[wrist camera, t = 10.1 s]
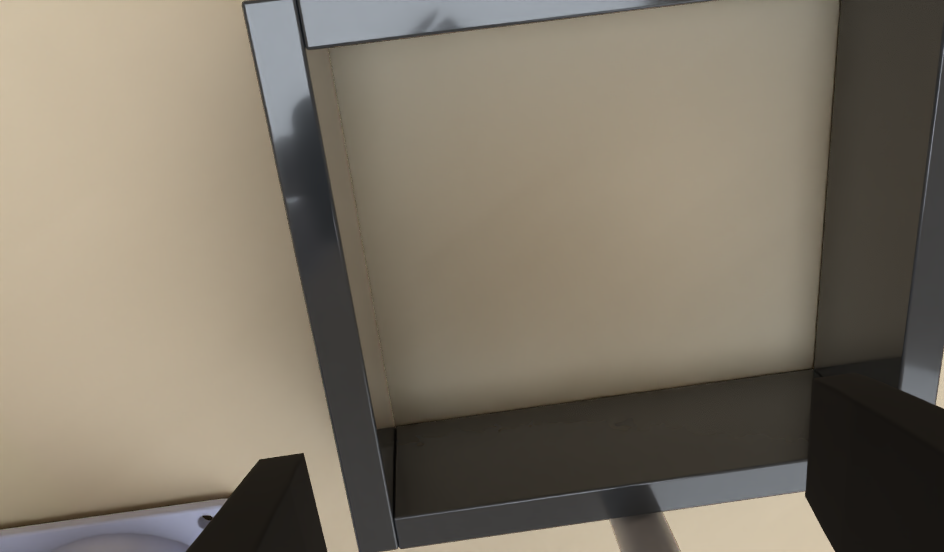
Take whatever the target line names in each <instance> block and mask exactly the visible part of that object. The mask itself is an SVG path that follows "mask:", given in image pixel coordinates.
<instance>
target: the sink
mask: <svg viewBox="0 0 944 552" xmlns="http://www.w3.org/2000/svg"><path fill="white" fill-rule="evenodd" d="M709 1H717V0H245V1H243V2H242V10H243V14H244V19H245V24H246V28H247V33H248V38H249V42H250V47H251V52H252V56H253V61H254V66H255V70H256V75H257V80H258V84H259V89H260V94H261V98H262V103H263V108H264V112H265V117H266V122H267V126H268V131H269V136H270V140H271V145H272V150H273V154H274V159H275V164H276V168H277V173H278V178H279V182H280V187H281V192H282V196H283V201H284V206H285V210H286V215H287V220H288V224H289V229H290V234H291V238H292V243H293V248H294V252H295V257H296V262H297V266H298V271H299V276H300V280H301V285H302V290H303V294H304V299H305V304H306V308H307V313H308V318H309V322H310V327H311V332H312V336H313V341H314V346H315V350H316V355H317V360H318V364H319V369H320V373H321V378H322V383H323V387H324V392H325V397H326V401H327V406H328V411H329V415H330V420H331V425H332V429H333V434H334V439H335V443H336V448H337V453H338V457H339V462H340V467H341V471H342V476H343V481H344V485H345V490H346V495H347V499H348V504H349V509H350V513H351V518H352V523H353V527H354V532H355V537H356V541H357V546H358V551H359V552H383V551H390V550H396V549H398V547H399V548H400V549H406V548H413V547H420V546H427V545H434V544H441V543H448V542H455V541H462V540H469V539H476V538H483V537H490V536H497V535H504V534H511V533H518V532H525V531H532V530H539V529H546V528H553V527H560V526H567V525H573V524H580V523H587V522H594V521H601V520H608V519H609V521H610V524H611V527H612V529H613V532H614V535H615V538H616V541H617V543H618V546H619V549H620V552H681V550H680V548H679V546H678V544H677V542H676V540H675V537H674V535H673V533H672V531H671V529H670V527H669V524H668V522H667V520H666V518H665V516H664V514H663V512H664V511H671V510H678V509H685V508H692V507H699V506H706V505H713V504H720V503H727V502H734V501H741V500H748V499H755V498H762V497H769V496H776V495H783V494H790V493H797V492H804V491H806V476H807V460H808V445H809V429H810V414H811V398H812V383H813V379H814V378H820V377H827V376H834V375H841V374H848V373H858V374H861V375H864V376H867V377H870V378H872V379H875V380H878V381H880V382H883V383H885V384H887V385H890V386H892V387H895V388H897V389H899V390H902V391H904V392H906V393H909V394H911V395H913V396H916V397H918V398H920V399H923V400H925V401H927V402H929V403H932V404H934V405H936V399H937V392H938V385H939V378H940V372H941V365H942V358H943V351H944V0H841V8H840V22H839V35H838V49H837V62H836V76H835V89H834V103H833V116H832V130H831V144H830V157H829V171H828V184H827V198H826V211H825V225H824V238H823V252H822V265H821V279H820V292H819V306H818V319H817V333H816V347H815V360H814V370H813V369H808V370H801V371H794V372H787V373H780V374H772V375H765V376H758V377H751V378H743V379H736V380H729V381H722V382H714V383H707V384H700V385H693V386H685V387H678V388H671V389H664V390H657V391H649V392H642V393H635V394H628V395H620V396H613V397H606V398H599V399H591V400H584V401H577V402H570V403H562V404H555V405H548V406H541V407H534V408H526V409H519V410H512V411H505V412H497V413H490V414H483V415H476V416H468V417H461V418H454V419H447V420H440V421H432V422H425V423H418V424H411V425H403V426H397V427H396V428H395V423H394V417H393V411H392V406H391V400H390V394H389V389H388V383H387V377H386V372H385V366H384V360H383V355H382V349H381V343H380V338H379V332H378V326H377V321H376V315H375V309H374V304H373V298H372V292H371V287H370V281H369V275H368V270H367V264H366V258H365V253H364V247H363V241H362V236H361V230H360V224H359V218H358V213H357V207H356V201H355V196H354V190H353V184H352V179H351V173H350V167H349V162H348V156H347V150H346V145H345V139H344V133H343V128H342V122H341V116H340V111H339V105H338V99H337V94H336V88H335V82H334V77H333V71H332V65H331V60H330V54H329V48H333V47H341V46H349V45H358V44H366V43H374V42H382V41H390V40H398V39H407V38H415V37H423V36H431V35H439V34H447V33H456V32H464V31H472V30H480V29H488V28H496V27H505V26H513V25H521V24H529V23H537V22H545V21H554V20H562V19H570V18H578V17H586V16H594V15H603V14H611V13H619V12H627V11H635V10H643V9H652V8H660V7H668V6H676V5H684V4H692V3H701V2H709Z"/></svg>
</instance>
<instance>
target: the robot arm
mask: <svg viewBox="0 0 944 552" xmlns="http://www.w3.org/2000/svg"><path fill="white" fill-rule="evenodd" d="M805 497H806V499H807V500H808V502H809V504H810V506H811V508H812V510H813V512H814V514H815V516H816V518H817V520H818V521H819V523H820V525H821V527H822V529H823V531H824V533H825V534H826V536H827V538H828V540H829V541H830V543H831V545H832V547H833V549H834V550H835V552H944V409H943V408H941V407H938V406H936V405H934V404H932V403H929V402H927V401H925V400H923V399H920V398H918V397H916V396H913V395H911V394H909V393H906V392H904V391H902V390H899V389H897V388H895V387H892V386H890V385H887V384H885V383H883V382H880V381H878V380H875V379H872V378H870V377H867V376H864V375H861V374H858V373H848V374H841V375H834V376H827V377H820V378H814V379H813V383H812V398H811V414H810V429H809V445H808V460H807V476H806V491H805ZM204 515H210V516H212V517H213V519H212V520H206V519H204V518H203V517H202V516H204ZM0 552H327V548H326V544H325V540H324V536H323V532H322V527H321V523H320V519H319V515H318V511H317V507H316V503H315V499H314V494H313V490H312V486H311V482H310V478H309V474H308V470H307V465H306V461H305V457H304V453H301V454H294V455H287V456H280V457H274V458H267V459H260V460H259V461H258V462H257V463H256V465H255V466H254V467H253V468H252V469H251V471H250V472H249V473H248V474H247V476H246V477H245V478H244V479H243V481H242V482H241V483H240V484H239V486H238V487H237V488H236V489H235V491H234V492H233V493H232V494H231V496H230V497H229V498H228V499H225V498H222V499H215V500H208V501H201V502H194V503H187V504H180V505H172V506H165V507H158V508H151V509H144V510H137V511H130V512H123V513H115V514H108V515H101V516H94V517H87V518H80V519H73V520H65V521H58V522H51V523H44V524H37V525H30V526H23V527H16V528H8V529H1V530H0Z"/></svg>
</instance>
